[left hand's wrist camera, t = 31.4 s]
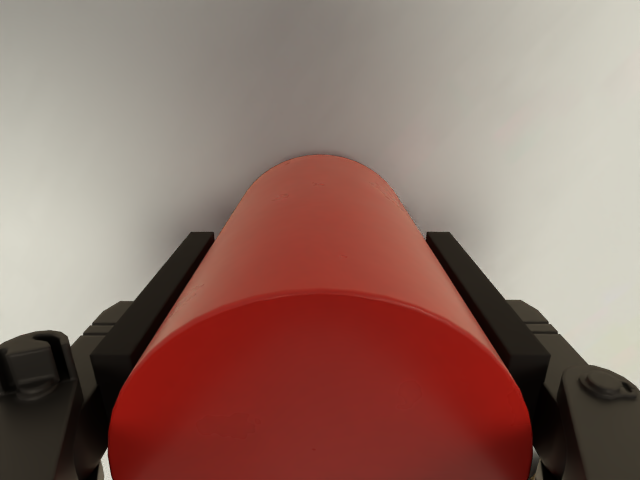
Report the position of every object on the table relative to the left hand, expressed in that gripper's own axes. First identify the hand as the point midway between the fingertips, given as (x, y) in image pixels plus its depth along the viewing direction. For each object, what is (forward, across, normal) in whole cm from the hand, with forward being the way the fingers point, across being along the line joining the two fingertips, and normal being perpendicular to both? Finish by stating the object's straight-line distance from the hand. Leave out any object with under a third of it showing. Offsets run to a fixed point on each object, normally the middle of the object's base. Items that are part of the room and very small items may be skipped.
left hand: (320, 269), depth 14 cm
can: (+3, 0, 0) cm, 3 cm away
